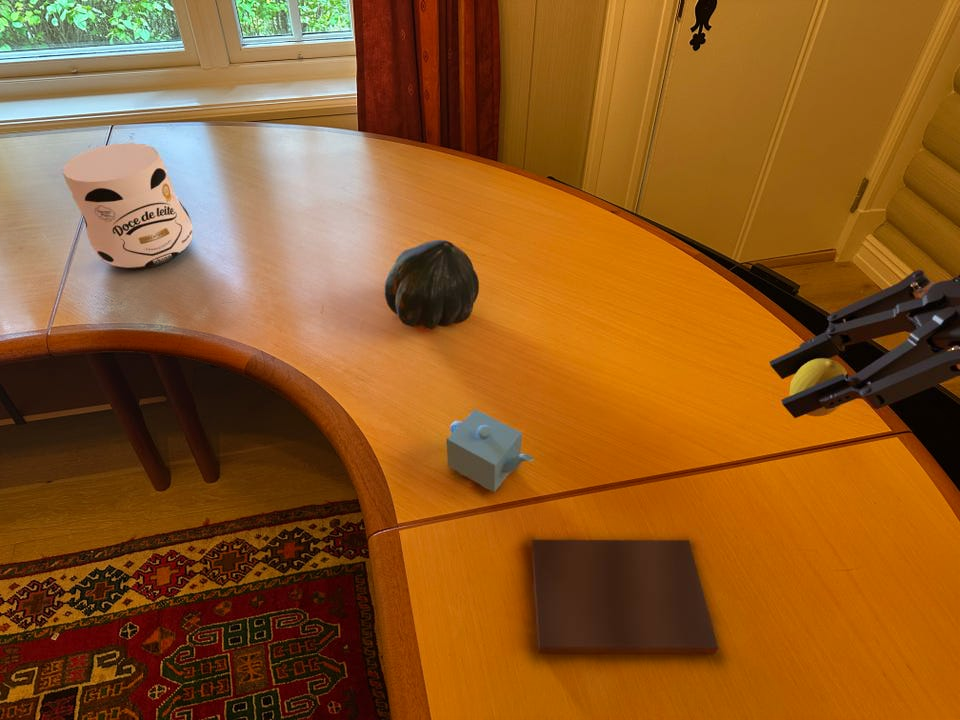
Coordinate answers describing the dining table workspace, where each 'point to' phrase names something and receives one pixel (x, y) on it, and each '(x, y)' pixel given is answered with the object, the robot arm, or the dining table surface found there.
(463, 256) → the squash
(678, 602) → the cutting board
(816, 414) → the lemon
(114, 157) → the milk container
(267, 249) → the dining table surface
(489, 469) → the knobbed blue-grey cube
